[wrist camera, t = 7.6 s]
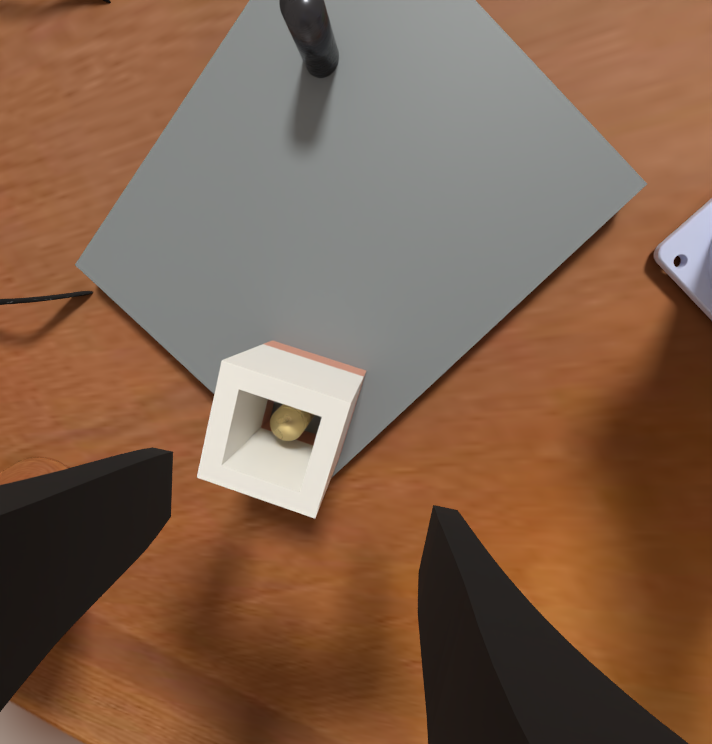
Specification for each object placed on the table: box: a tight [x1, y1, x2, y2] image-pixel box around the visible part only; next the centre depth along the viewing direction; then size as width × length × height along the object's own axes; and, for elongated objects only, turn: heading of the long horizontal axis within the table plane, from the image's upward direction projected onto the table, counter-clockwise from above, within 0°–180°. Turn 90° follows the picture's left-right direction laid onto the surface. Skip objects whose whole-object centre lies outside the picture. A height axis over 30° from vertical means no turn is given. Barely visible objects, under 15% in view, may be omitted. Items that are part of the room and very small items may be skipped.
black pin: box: [279, 0, 339, 78], centre depth 13 cm, size 1×1×3 cm
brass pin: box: [270, 404, 315, 441], centre depth 17 cm, size 1×1×3 cm
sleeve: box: [197, 340, 366, 518], centre depth 16 cm, size 5×5×5 cm
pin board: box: [75, 0, 647, 478], centre depth 17 cm, size 16×19×2 cm
